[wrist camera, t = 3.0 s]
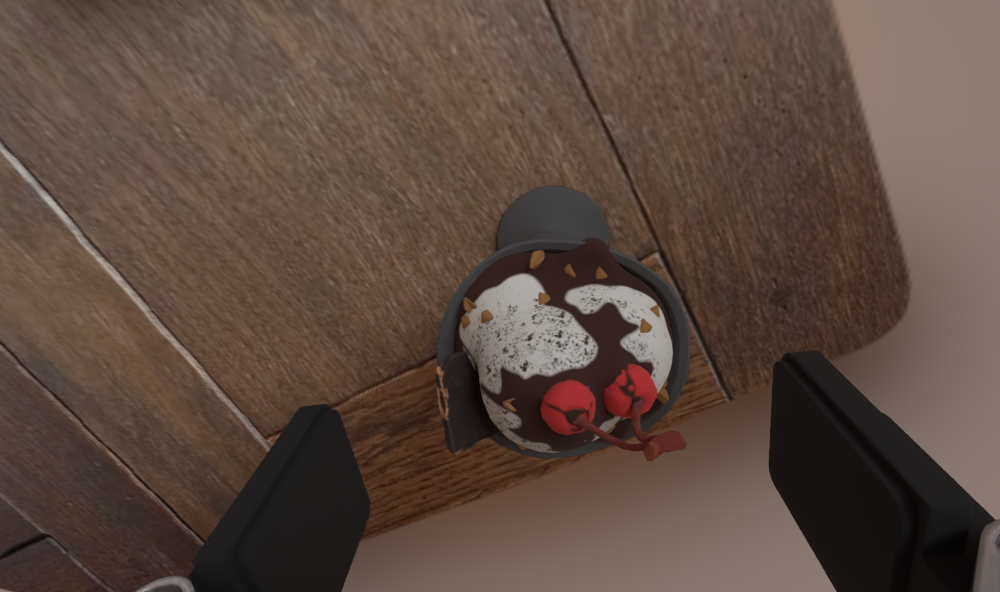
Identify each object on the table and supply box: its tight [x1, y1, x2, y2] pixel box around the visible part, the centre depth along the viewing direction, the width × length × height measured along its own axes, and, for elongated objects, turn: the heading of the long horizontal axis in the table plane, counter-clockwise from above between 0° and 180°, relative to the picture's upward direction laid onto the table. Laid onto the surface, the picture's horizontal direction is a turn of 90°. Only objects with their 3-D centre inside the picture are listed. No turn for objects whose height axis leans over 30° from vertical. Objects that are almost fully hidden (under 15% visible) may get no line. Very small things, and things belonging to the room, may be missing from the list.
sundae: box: [436, 186, 690, 461], centre depth 16 cm, size 7×7×15 cm
